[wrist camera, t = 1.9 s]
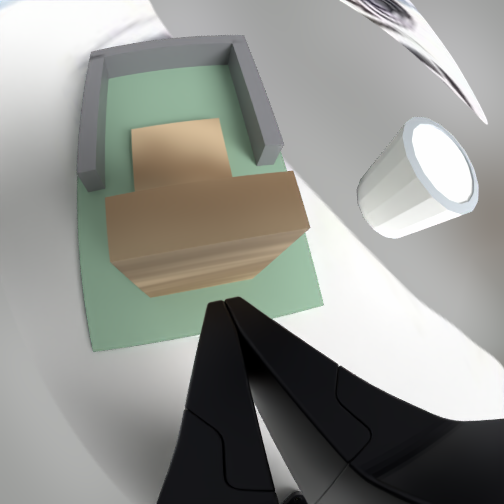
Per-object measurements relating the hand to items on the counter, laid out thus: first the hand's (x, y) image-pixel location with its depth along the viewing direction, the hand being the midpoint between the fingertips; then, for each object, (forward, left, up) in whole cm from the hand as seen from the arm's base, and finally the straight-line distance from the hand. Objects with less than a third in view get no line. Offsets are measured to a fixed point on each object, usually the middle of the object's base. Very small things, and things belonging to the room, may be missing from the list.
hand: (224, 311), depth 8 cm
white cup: (-5, -15, -10) cm, 19 cm away
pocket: (+11, -10, -9) cm, 18 cm away
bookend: (+6, -5, -9) cm, 12 cm away
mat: (+8, -7, -10) cm, 14 cm away
